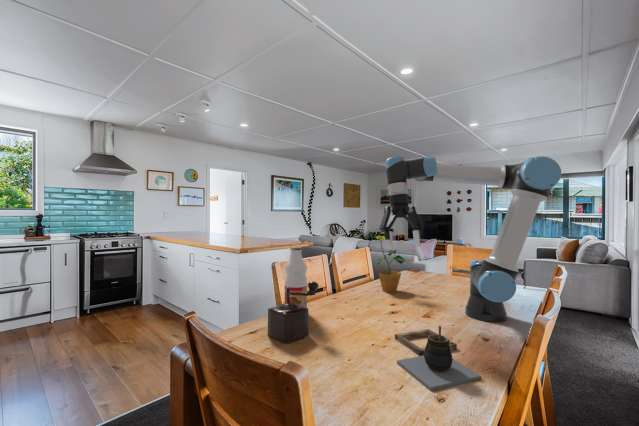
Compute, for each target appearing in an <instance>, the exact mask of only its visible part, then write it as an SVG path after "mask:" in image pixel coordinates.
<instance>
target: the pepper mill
mask: <svg viewBox="0 0 639 426" xmlns="http://www.w3.org/2000/svg"><path fill="white" fill-rule="evenodd" d="M307 288H308V291H307V293H291V292H290V288H287V289H286V290H287V292H286V294H287V302H286V303H285V302H284V303H282V304H280V305H276V306H272V307H270V308H267V309H268V310H267V336H269V337H270V338H273V339H274V340H276V341H278V342H280V343H283V344H286V345H288V344H290V343H293V342H296V341H298V340H301V339H302V338H305V337H307V336H308V335H309V334H310V333H309V308H308V307H307V308H305V307H302V306H299V305H296V304H294V303H292V302H290V294H291V295H304V296H307V297H308V296H310V297H312V296H315V295H316V291H317V289H319V283H318V282H316V281H309V282H307Z"/></svg>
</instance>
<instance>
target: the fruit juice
mask: <svg viewBox="0 0 639 426" xmlns="http://www.w3.org/2000/svg"><path fill="white" fill-rule="evenodd" d="M289 250H290V256H289V259H288V261H287V263H285V266H284V267H285V269H284V271H285V278H284V303H286V302H287V294H286V292H287V290H286V289H287V288H290V292H291V293H308V279H307V275H306V274H307V271H308V267H307V263H306V262H305V261H304V258H303V255H302V251H303V247H302V246H290V249H289ZM290 302H292V303H294V304H296V305H299V306H302V307H305V308H308V296H304V295H291V294H290Z"/></svg>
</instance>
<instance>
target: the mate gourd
mask: <svg viewBox="0 0 639 426" xmlns="http://www.w3.org/2000/svg"><path fill="white" fill-rule="evenodd" d="M438 334H439V335H436V334H434V335H429V336H426V338H427V340H426V341H427V342H426V344H425V351H424V355H423V356H424V358H425V361H426V364H427V365H428V366H429V367H430V368H431V369H433V370H436V371H446V370H447V369H449V368H450V367H451V365H452V358H453V355H452V350H450V347H449V340H450V339H449V338H448V337H447V336H444V335H442V326H438Z"/></svg>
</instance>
